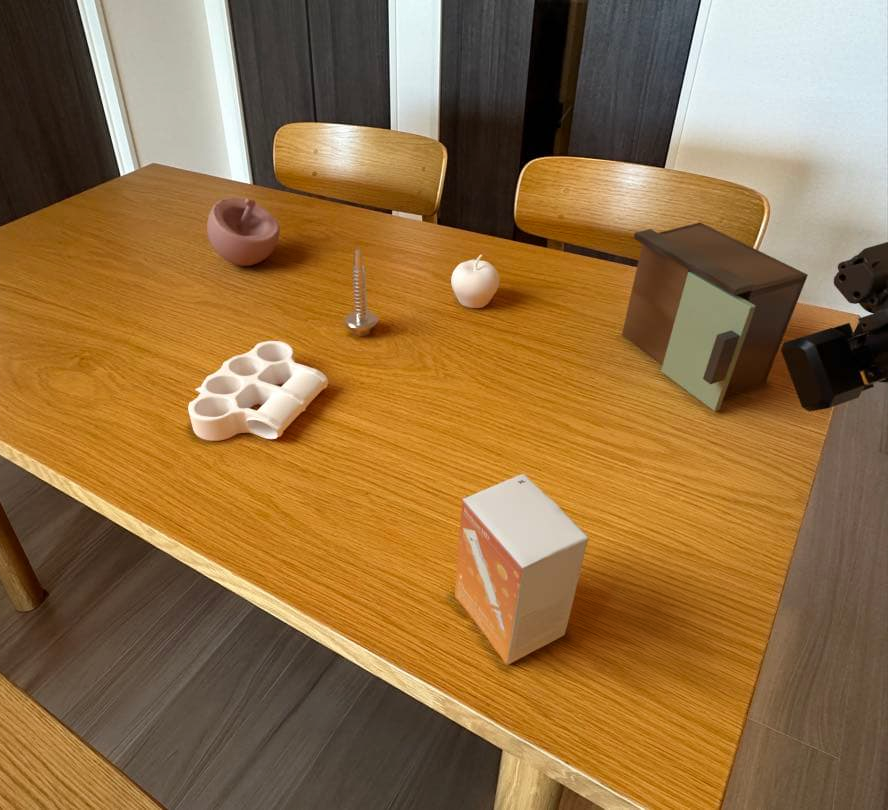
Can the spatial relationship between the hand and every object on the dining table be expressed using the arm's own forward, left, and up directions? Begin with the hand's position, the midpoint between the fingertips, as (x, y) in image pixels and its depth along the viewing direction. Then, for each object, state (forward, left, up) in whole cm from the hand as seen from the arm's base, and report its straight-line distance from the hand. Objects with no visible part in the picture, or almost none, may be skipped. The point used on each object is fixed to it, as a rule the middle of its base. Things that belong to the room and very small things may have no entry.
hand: (801, 369), depth 68 cm
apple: (+36, -27, -12) cm, 47 cm away
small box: (+23, +27, -12) cm, 38 cm away
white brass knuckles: (+58, +4, -12) cm, 60 cm away
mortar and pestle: (+76, -32, -12) cm, 83 cm away
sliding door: (+8, -10, -12) cm, 17 cm away
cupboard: (+7, -18, -12) cm, 23 cm away
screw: (+50, -15, -12) cm, 54 cm away
